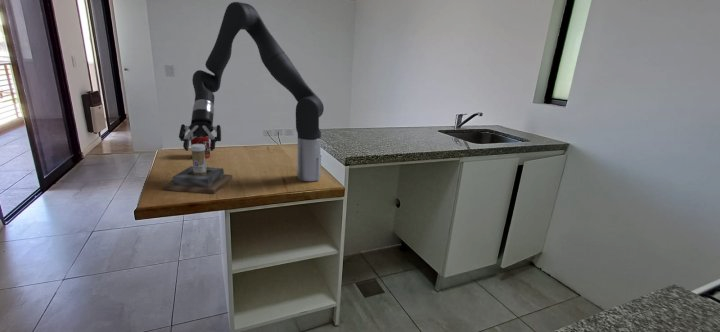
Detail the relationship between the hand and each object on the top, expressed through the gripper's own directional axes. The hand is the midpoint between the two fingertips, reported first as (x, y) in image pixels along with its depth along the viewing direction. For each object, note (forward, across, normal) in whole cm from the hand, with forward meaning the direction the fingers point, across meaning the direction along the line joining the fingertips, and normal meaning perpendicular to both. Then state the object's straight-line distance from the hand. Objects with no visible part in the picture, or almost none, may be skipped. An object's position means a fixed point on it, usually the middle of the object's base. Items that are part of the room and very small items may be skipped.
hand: (199, 149), depth 123 cm
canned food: (-15, -7, +33) cm, 37 cm away
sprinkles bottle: (+9, 0, +6) cm, 11 cm away
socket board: (+10, 0, +7) cm, 13 cm away
